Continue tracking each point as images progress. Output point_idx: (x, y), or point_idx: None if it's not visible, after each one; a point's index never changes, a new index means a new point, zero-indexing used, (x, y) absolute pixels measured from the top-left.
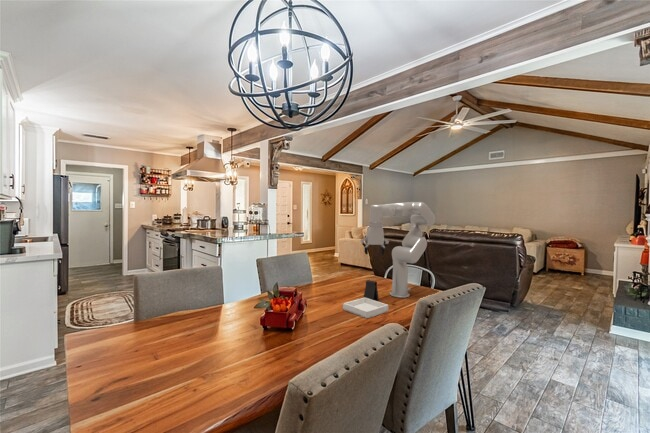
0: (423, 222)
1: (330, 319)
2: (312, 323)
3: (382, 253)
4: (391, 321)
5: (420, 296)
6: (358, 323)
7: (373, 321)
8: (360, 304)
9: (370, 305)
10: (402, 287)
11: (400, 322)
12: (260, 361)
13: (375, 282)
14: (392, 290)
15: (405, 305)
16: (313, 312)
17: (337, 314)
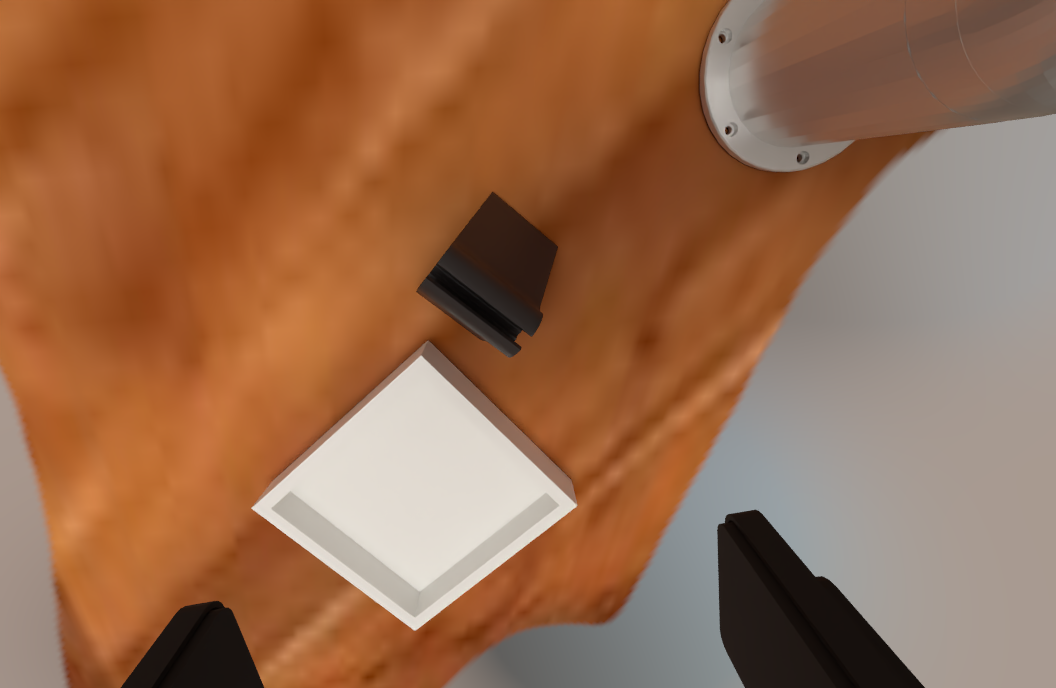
0: None
1: None
2: None
3: (744, 673)
4: (550, 612)
5: None
6: (373, 650)
7: (454, 621)
8: (391, 404)
9: (464, 417)
10: (846, 140)
11: (594, 618)
12: None
13: (526, 315)
14: (741, 66)
15: (727, 359)
16: (88, 542)
17: (247, 556)
